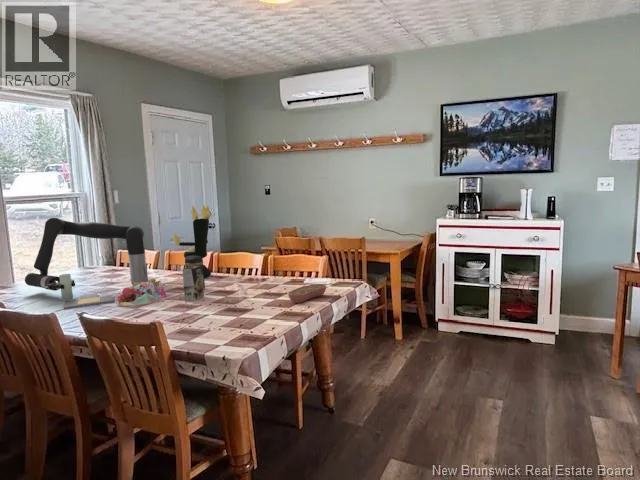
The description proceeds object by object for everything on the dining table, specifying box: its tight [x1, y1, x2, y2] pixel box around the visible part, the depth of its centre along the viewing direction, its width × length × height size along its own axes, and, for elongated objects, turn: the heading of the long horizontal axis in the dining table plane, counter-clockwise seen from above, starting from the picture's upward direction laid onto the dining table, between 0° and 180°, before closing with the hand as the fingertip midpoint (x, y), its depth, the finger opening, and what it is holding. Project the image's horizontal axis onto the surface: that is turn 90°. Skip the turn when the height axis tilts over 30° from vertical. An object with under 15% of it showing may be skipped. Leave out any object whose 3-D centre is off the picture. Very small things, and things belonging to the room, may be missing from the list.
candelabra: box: [173, 203, 212, 279], centre depth 274 cm, size 19×22×45 cm
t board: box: [62, 292, 115, 310], centre depth 230 cm, size 22×23×1 cm
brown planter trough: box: [288, 283, 327, 304], centre depth 216 cm, size 23×10×5 cm, turn 142°
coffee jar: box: [184, 255, 206, 289], centre depth 244 cm, size 10×8×19 cm
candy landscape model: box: [116, 278, 167, 307], centre depth 229 cm, size 25×24×9 cm
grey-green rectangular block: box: [58, 273, 74, 302], centre depth 233 cm, size 5×5×13 cm
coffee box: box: [182, 266, 205, 302], centre depth 224 cm, size 9×6×16 cm
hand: (68, 285), depth 232 cm, fingers closed on grey-green rectangular block, 5 cm apart
